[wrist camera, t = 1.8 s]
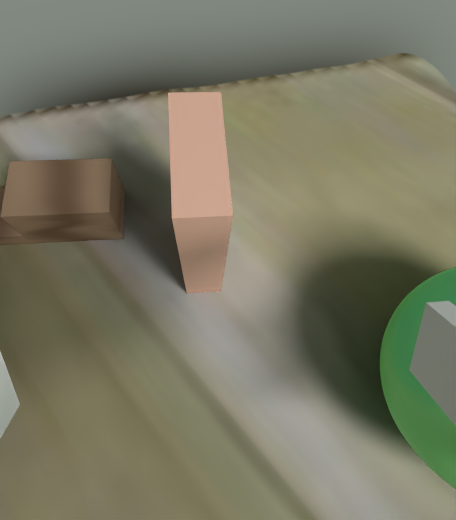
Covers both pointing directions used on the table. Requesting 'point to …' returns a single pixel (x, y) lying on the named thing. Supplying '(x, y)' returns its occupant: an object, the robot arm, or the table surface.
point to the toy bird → (409, 388)
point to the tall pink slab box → (200, 188)
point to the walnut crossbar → (61, 202)
